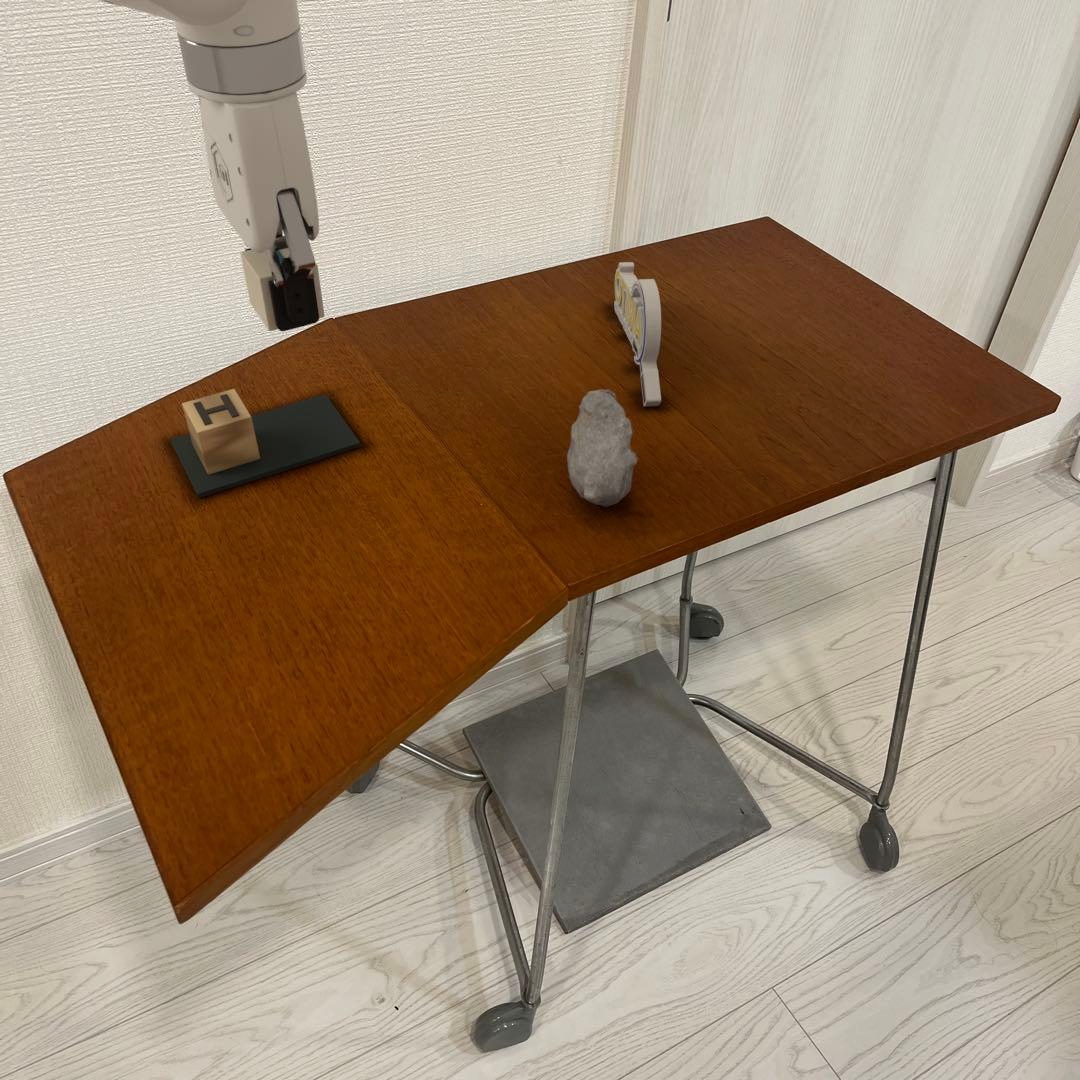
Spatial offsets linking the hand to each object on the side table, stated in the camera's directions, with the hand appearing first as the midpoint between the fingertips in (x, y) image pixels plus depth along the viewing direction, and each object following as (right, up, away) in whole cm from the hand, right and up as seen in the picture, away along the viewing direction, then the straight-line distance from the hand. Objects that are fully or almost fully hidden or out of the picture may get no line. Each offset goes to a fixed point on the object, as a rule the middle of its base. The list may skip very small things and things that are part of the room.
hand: (286, 306), depth 77 cm
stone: (+24, -14, +6) cm, 29 cm away
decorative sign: (+29, 0, +21) cm, 36 cm away
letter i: (0, 0, 0) cm, 0 cm away
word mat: (-4, -10, +9) cm, 14 cm away
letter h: (-7, -10, +8) cm, 15 cm away
